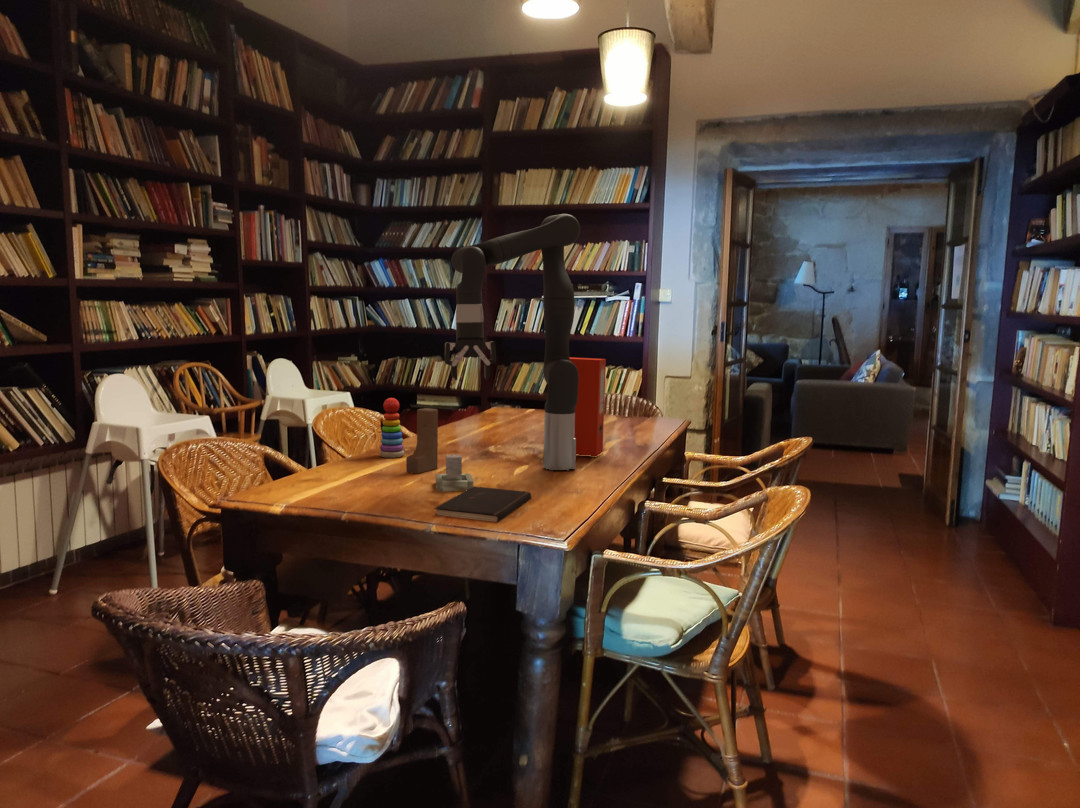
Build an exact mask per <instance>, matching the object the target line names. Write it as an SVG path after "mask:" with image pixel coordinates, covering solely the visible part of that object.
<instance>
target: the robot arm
mask: <svg viewBox="0 0 1080 808" xmlns="http://www.w3.org/2000/svg"><path fill="white" fill-rule="evenodd" d="M580 233H581V225H580V223H579V221H578V220H577V218H576V217H575V216H574V215H571V214H568V213H561V214H560V213H559V214H555V215H550V216H547V217H546V218H544V219H543V220H542V222H541V224H540V226H537V227H534V228H531V229H525V230H521V231H517V232H512V233H508V234H505V235H501V236H497V237H493V238H492V239H489V240H486V241H483V242H480V243H475V244H472V245H467V246H463V247H460V248H457V249H456V250H455V251H453V252H454V253H453V254H452V256H451V259H450V260H451V266H452V268H453V269H454V270H455V271H456V272H457V273H460V274H461V279H460V282H459V283H458V284H457V285H456V292H455V296H456V302H455V303H456V306H455V332H456V333H455V334H456V336H455V337H456V340H455V342H449V341H447V342H445V343H444V360H443V361H444V363H445V364H446V365H449V366H451V370H450V371H451V377H452V378H453V379H454V381H458V366H457V364H459V362H460V360H461V359H462V358H465V359H466V358H467V359H468V358H478V357H479V359H481V361H483V363H484V366H483V368H484V371H483V372H484V375H483V376H484V380H485V379H486V380H488V379H489V378H490V376H491V365H492V364H496V363H497V349H496V348H497V347H496V342H495V341H493V340H491V341H486V342H485V339H484V330H485V329H484V319H485V318H484V309H483V292H482V289H483V288H482V287H483V285H484V280H485V273H486V269H487V268H486V267H488V266H495V265H500V264H503V263H505V262H509V261H512V260H514V259H518V258H519V257H523V256H525V255H528V254H531V253H533V252H537V251H539V250H541V257H542V259H541V260H542V278H543V279H542V280H543V281H542V282H543V284H542V285H543V293H542V294H543V295H542V296H543V297H542V298H543V323H544V325H543V326H544V327H543V328H544V337H545V339H544V340H545V346H544V348H545V349H544V359H543V368H542V369H543V371H542V375H543V378H544V381H545V383H546V384H547V398H546V401H545V403H544V421H543V422H544V427H543V429H544V430H543V461H542V462H543V463H542V467H544V468H546V469H545V470H547V469H549V470H548V471H553V470H567V471H570V470H569V469H575V470H576V458H577V456H576V438H575V437H574V434H575V407H576V404H577V399H578V383H579V375H578V370H577V367H576V366H575V365H574V364H573V363H572V362H571V361H570V357H571V356H570V337H571V332H572V328H573V324H574V319H575V291H574V287H573V284H572V282H571V279H570V276H569V274H568V272H567V269H566V263H565V247H569V246H571V245H573V244H574V243H575V242H576V241H577V240H578V239H579V237H580ZM485 347H487V349H488V350H489V352H490V359H488V358H487V356H486V355H485V354H484V353H483V350H484V349H485ZM454 348H455V349H456V350H457V353H456V355H455V357H454V358H453V359H452V360H451V359H450V358H451V351H453V349H454ZM544 468H543V469H544Z"/></svg>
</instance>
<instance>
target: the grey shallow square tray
mask: <svg viewBox="0 0 1080 808" xmlns="http://www.w3.org/2000/svg"><path fill="white" fill-rule="evenodd" d="M435 487H436V488H437V489H436V492H437V491H438V492H456V491H455V490H458V491H457V492H461V491H460V490H463V491H462V492H465V490H468V489H470V488H472V487H474V480H473V478H472V474H471V473H462V480H457V481H446V473H436V474H435Z"/></svg>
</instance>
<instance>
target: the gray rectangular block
mask: <svg viewBox="0 0 1080 808" xmlns="http://www.w3.org/2000/svg"><path fill="white" fill-rule="evenodd" d="M462 459H463V457H462V454H445V474H446V481H457V480H462V474H463V472H462V471H463V469H462V466H463V465H462V464H463V462H462Z"/></svg>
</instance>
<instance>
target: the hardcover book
mask: <svg viewBox="0 0 1080 808" xmlns="http://www.w3.org/2000/svg"><path fill="white" fill-rule="evenodd" d="M531 499H532V493H531V492H530V491H524V490H514V489H503V488H494V487H483V486H482V487H481V486H474V485H473V487H472V488H470V489H468V490H467V491H462V492H461V493H459V494H458V495H455V496H454V497H452V498H450V499H448V500H447V501H445V502H443V503H441V504H439V505H437V506H436V507H434V508H433V509H434V510H436V513H435V515H436V514H437V515H436V516H441V515H444V516H443V517H450V516H451V518H458V517H459V518H460V519H467V518H468V519H467V520H469V519H470V520H475V521H477V520H478V521H484V522H492V523H493V522H494V523H500V522H501V521H502V520H504V519H505V518H506V517H508V516H509V515H511V514H512V513H514V511H516V510H517V509H519V508H521V507H522V506H523V505H524V504H526V503H527V502H529V501H530V500H531ZM459 518H458V519H459Z"/></svg>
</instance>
